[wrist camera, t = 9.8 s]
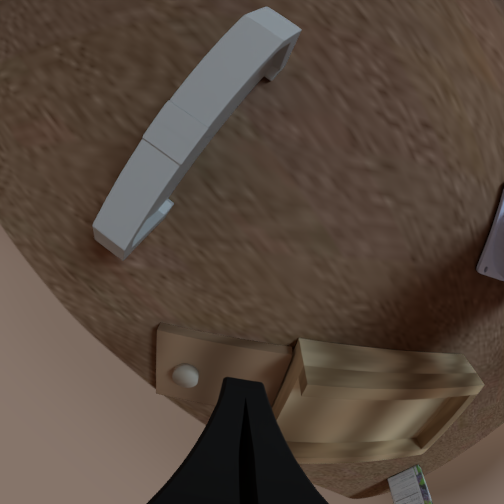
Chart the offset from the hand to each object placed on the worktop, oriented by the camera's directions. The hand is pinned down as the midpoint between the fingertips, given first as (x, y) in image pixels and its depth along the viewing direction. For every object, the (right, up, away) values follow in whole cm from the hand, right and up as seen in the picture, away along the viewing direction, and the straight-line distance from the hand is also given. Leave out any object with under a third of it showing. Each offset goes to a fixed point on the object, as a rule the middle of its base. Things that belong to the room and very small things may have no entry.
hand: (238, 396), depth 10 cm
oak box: (+11, -8, +14) cm, 20 cm away
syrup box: (+26, -32, +24) cm, 48 cm away
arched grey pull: (-2, +12, +7) cm, 14 cm away
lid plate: (-2, -4, +14) cm, 14 cm away
